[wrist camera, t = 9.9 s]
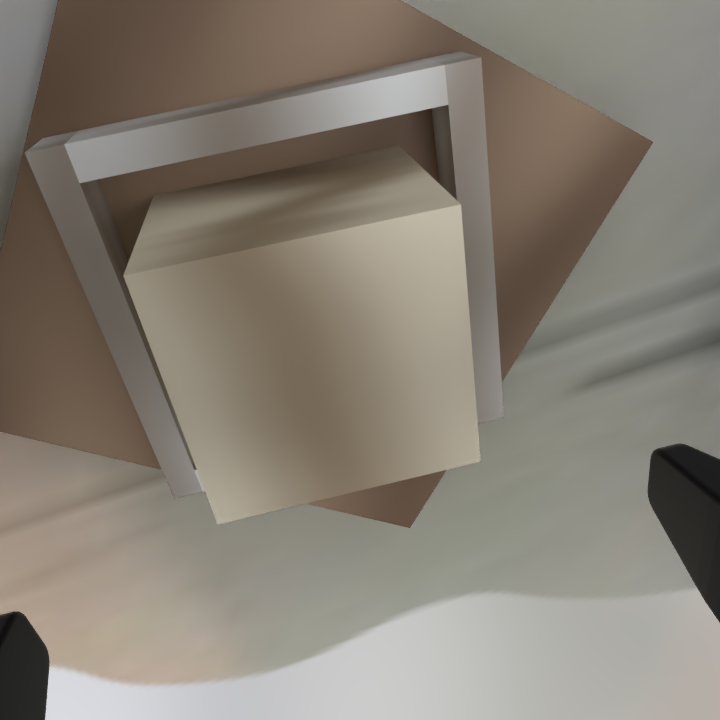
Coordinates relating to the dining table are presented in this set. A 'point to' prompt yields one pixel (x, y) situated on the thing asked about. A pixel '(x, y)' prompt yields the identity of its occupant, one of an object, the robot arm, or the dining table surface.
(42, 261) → the socket board
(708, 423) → the dining table surface
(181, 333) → the ash block
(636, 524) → the dining table surface
